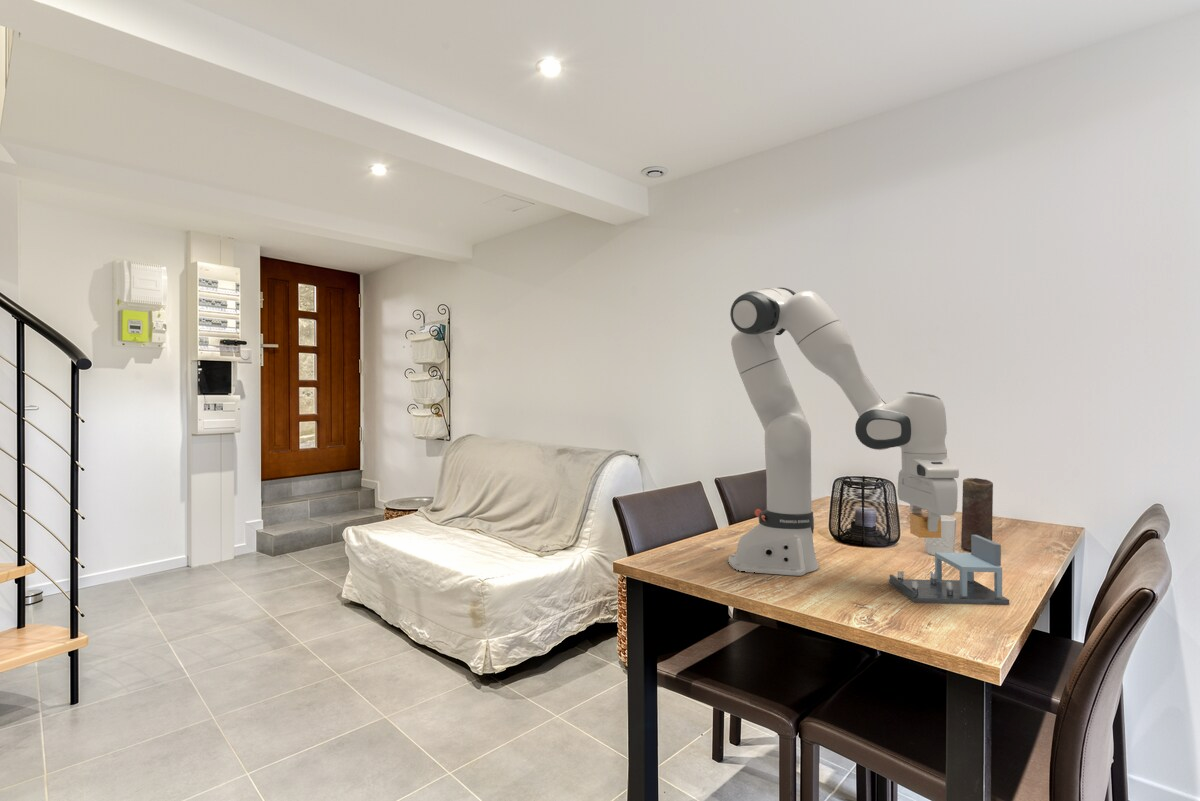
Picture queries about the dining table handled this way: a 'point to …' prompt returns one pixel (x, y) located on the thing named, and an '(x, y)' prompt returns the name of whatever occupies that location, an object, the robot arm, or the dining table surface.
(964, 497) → the dark brown cylinder
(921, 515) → the brown block
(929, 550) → the white cup
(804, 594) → the dining table surface
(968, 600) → the base plate
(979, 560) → the grey miniature chair
